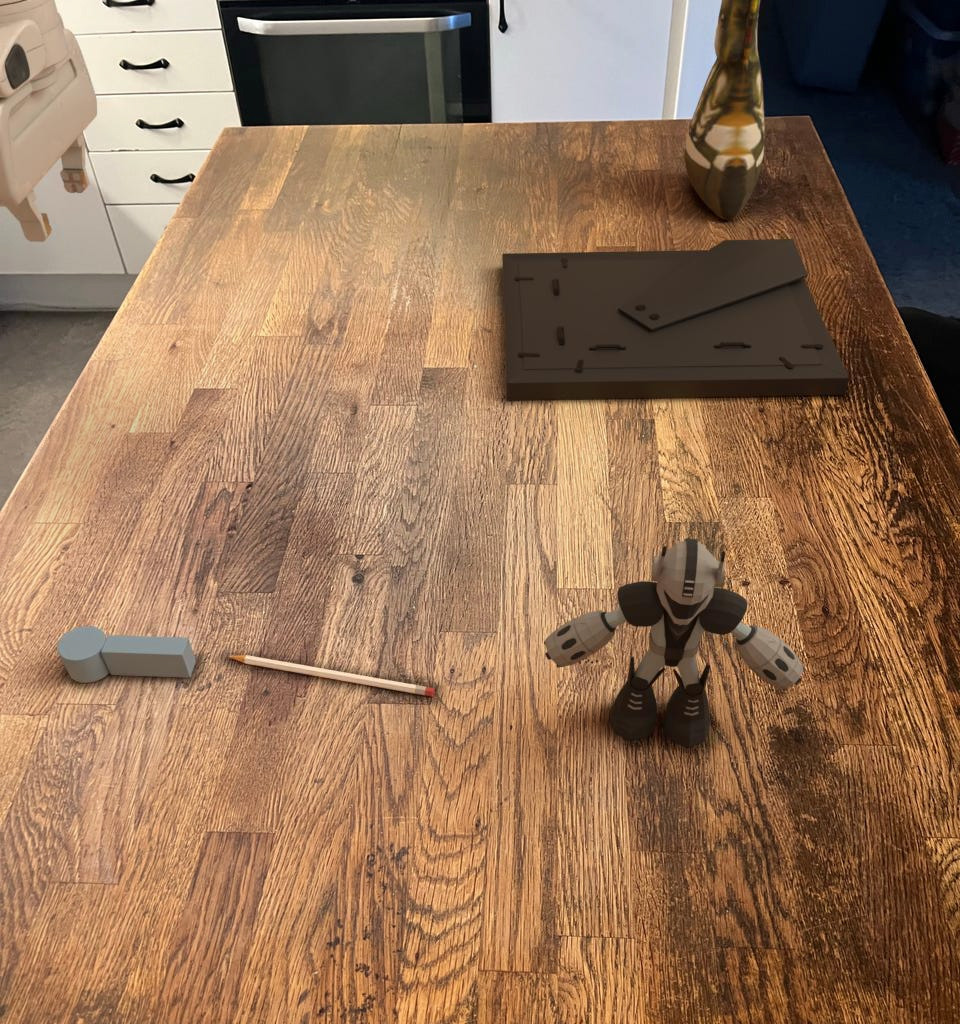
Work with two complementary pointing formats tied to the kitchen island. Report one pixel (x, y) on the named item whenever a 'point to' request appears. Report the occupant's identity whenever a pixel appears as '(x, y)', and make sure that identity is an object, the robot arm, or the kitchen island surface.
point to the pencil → (335, 675)
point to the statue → (729, 116)
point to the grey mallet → (123, 655)
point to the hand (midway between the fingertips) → (59, 213)
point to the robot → (675, 642)
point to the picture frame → (666, 325)
